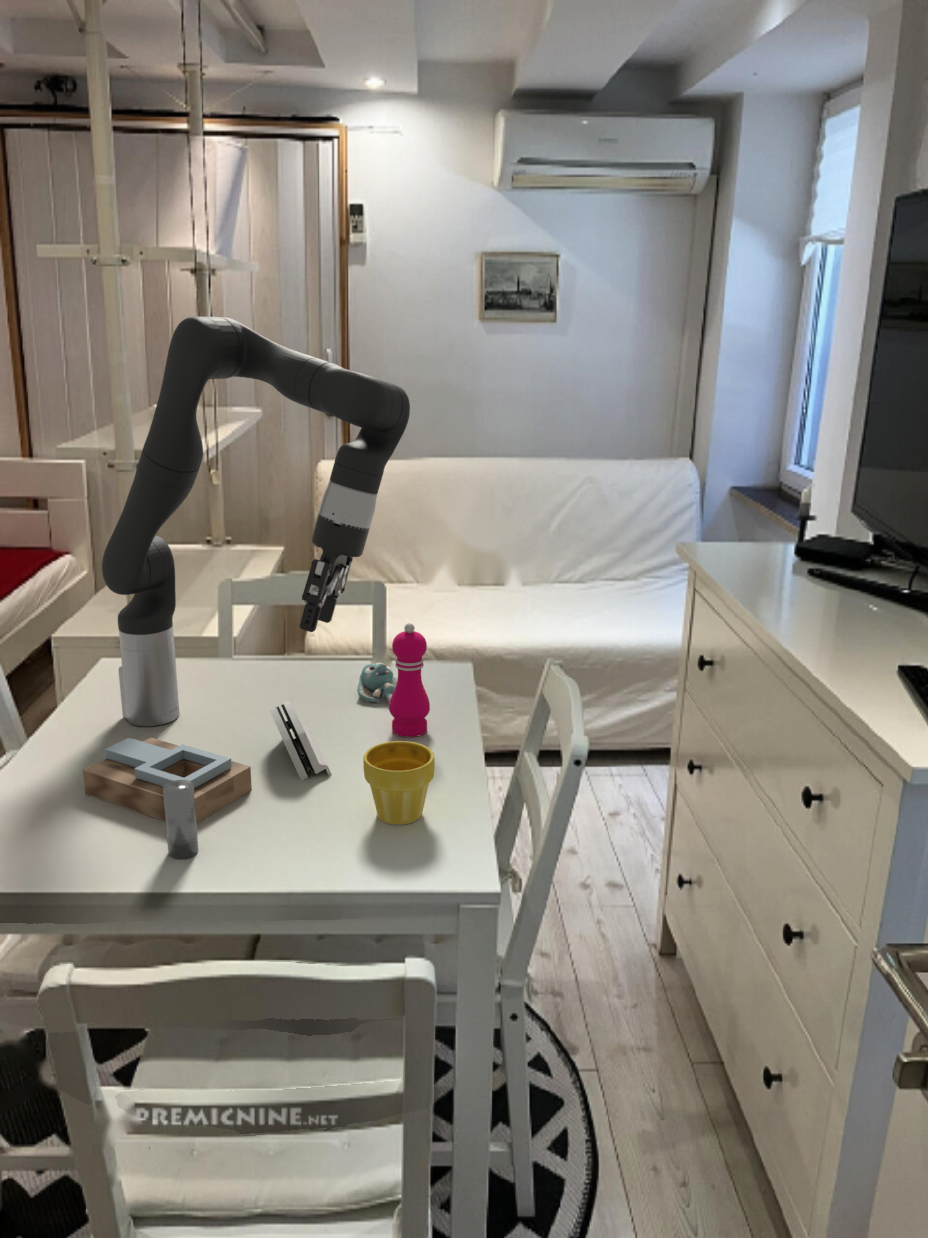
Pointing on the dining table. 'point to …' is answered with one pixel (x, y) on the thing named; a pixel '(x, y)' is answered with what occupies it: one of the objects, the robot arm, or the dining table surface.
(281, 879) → the dining table surface
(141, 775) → the link
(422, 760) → the plant pot
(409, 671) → the pepper mill
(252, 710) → the dining table surface
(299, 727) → the white game console
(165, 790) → the pin
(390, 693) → the stuffed animal
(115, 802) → the wooden block
